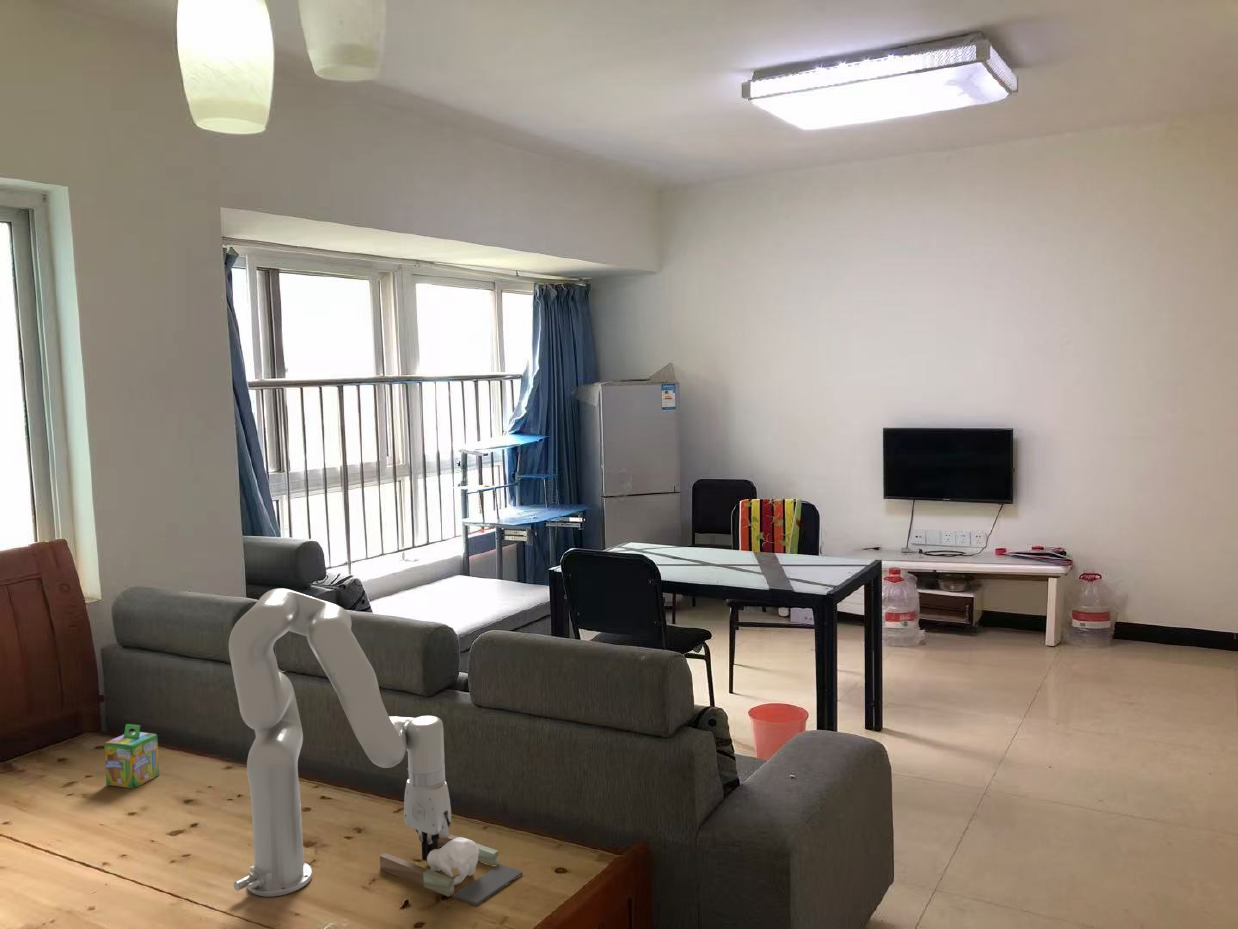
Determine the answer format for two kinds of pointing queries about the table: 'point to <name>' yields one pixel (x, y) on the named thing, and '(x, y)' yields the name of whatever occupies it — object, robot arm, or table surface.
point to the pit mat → (487, 884)
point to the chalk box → (131, 758)
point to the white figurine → (455, 858)
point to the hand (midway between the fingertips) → (430, 858)
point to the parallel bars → (427, 876)
